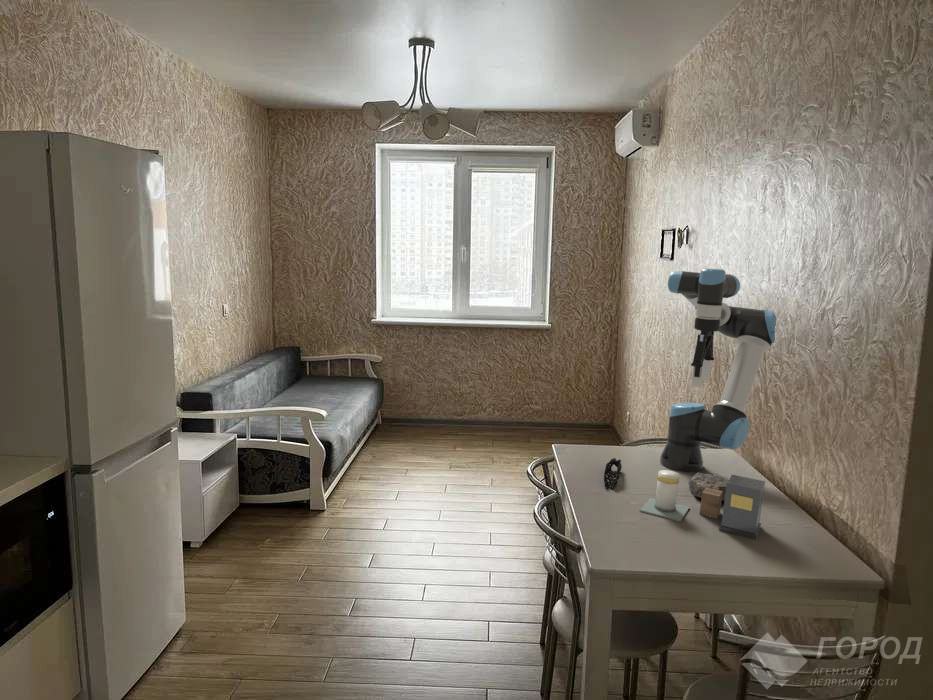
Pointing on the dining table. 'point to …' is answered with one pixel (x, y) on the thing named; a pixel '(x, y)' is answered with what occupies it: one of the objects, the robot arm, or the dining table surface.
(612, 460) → the decorative element
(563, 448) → the dining table surface
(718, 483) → the rock
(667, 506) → the cartridge
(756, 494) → the box
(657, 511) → the mat
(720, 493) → the walnut block
